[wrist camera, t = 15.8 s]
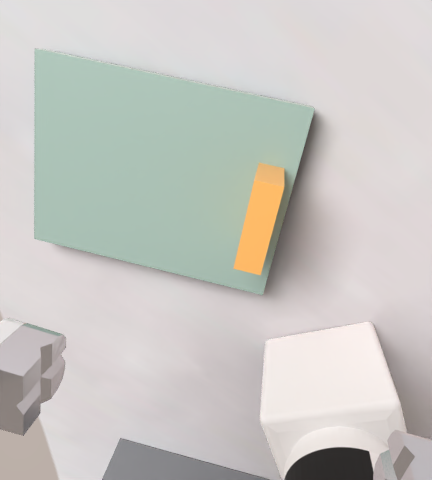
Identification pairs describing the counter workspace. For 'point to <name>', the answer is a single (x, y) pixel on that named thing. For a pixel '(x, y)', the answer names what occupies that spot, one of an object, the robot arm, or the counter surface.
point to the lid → (163, 169)
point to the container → (328, 403)
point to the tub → (164, 466)
